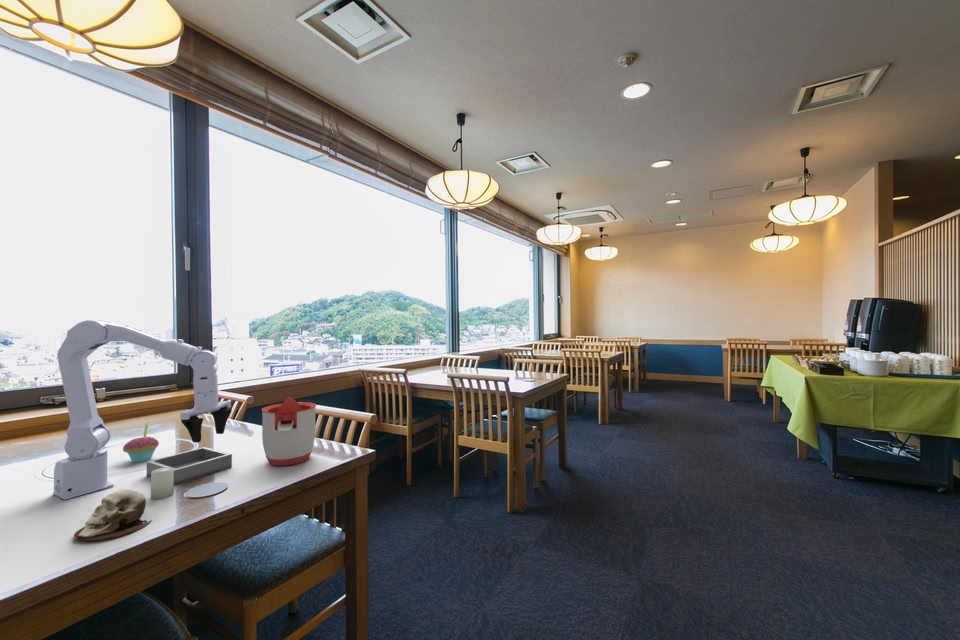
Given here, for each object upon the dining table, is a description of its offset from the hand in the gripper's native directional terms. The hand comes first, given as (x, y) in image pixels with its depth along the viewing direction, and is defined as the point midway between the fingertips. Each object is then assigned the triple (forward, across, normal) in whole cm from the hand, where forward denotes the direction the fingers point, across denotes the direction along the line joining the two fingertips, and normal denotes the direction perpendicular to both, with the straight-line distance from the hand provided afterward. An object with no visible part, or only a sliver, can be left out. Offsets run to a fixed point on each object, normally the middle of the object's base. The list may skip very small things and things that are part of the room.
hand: (208, 437), depth 114 cm
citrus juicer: (+11, +12, -17) cm, 24 cm away
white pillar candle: (+9, -16, -3) cm, 19 cm away
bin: (+10, -2, +5) cm, 11 cm away
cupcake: (+9, +3, +30) cm, 31 cm away
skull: (+10, -31, -9) cm, 34 cm away
